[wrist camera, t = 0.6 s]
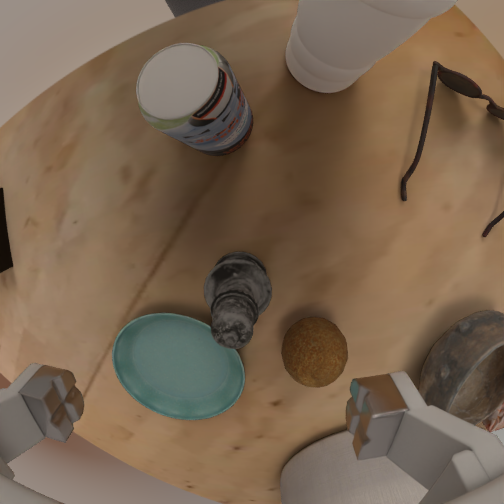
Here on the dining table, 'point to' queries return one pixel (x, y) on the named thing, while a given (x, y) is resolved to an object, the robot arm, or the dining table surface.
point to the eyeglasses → (452, 81)
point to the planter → (345, 476)
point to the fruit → (314, 352)
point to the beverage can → (195, 99)
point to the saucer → (177, 367)
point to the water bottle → (351, 37)
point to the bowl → (467, 368)
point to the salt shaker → (236, 298)
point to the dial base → (4, 239)
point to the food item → (495, 420)
